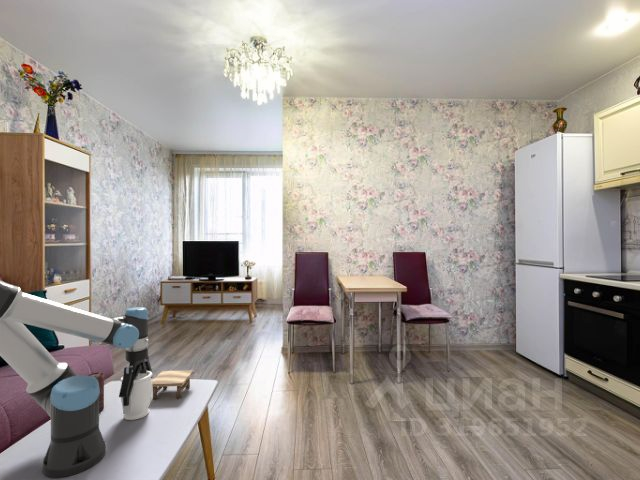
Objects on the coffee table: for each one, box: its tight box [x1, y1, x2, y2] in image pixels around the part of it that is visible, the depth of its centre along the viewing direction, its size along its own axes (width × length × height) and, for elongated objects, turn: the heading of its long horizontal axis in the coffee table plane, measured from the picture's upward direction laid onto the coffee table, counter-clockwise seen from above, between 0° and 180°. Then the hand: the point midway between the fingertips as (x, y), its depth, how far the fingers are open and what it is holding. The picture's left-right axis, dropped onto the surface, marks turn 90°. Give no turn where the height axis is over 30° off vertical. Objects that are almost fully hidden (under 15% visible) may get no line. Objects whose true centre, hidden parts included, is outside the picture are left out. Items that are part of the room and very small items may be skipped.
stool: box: [151, 369, 195, 400], centre depth 142 cm, size 14×14×7 cm
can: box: [87, 372, 105, 413], centre depth 127 cm, size 6×6×14 cm
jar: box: [120, 371, 153, 421], centre depth 124 cm, size 11×10×15 cm
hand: (137, 404), depth 124 cm, fingers open, 13 cm apart
